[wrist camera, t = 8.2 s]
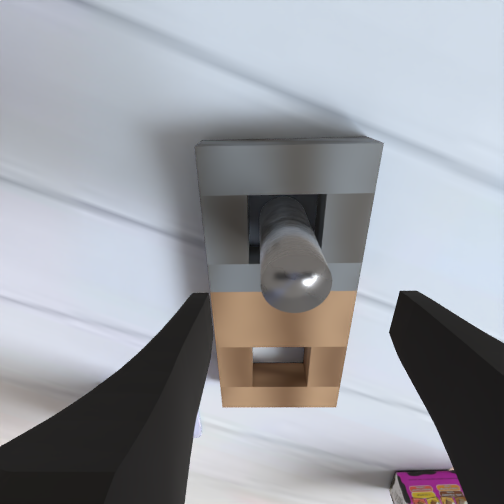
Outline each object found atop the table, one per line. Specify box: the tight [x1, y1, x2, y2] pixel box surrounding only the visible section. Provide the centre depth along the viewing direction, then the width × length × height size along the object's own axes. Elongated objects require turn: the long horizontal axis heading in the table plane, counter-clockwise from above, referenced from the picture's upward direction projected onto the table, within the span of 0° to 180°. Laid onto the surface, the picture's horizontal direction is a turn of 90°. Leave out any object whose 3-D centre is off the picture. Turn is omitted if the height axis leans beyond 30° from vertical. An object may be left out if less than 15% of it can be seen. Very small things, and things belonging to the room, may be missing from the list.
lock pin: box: [259, 196, 332, 313], centre depth 17 cm, size 3×3×8 cm
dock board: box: [195, 137, 384, 407], centre depth 22 cm, size 10×22×2 cm, turn 1°
